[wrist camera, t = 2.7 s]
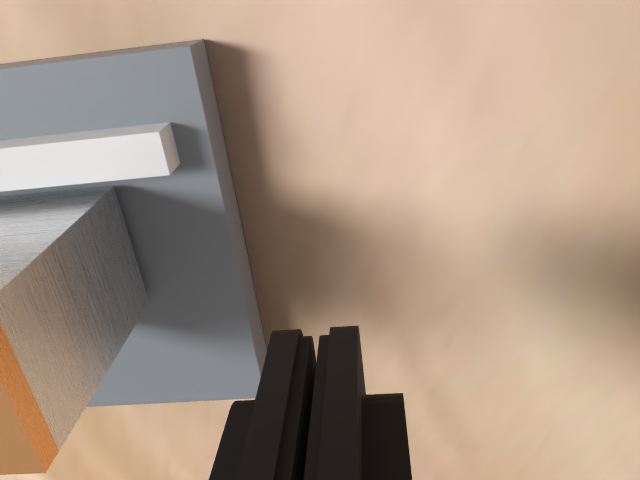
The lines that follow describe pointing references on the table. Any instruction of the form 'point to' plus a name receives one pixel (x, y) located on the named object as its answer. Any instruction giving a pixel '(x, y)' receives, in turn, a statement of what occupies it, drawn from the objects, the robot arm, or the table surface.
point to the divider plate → (147, 207)
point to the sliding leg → (59, 315)
